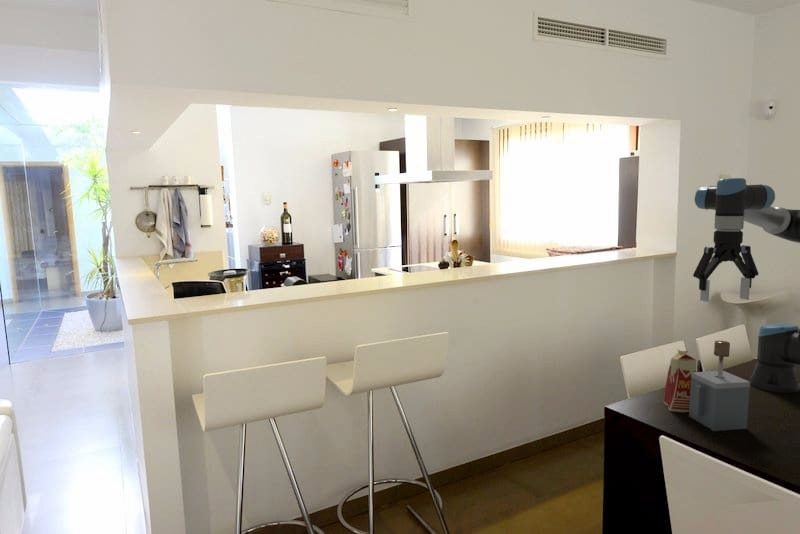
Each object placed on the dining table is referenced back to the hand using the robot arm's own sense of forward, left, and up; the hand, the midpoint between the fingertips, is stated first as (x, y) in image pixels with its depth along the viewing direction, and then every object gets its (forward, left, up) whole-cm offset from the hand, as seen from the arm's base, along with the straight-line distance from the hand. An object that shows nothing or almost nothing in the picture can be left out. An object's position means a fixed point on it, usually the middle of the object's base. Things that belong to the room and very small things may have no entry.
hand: (724, 300), depth 167 cm
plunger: (+2, +2, -37) cm, 37 cm away
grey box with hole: (+2, +2, -38) cm, 38 cm away
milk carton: (+5, -11, -38) cm, 40 cm away
